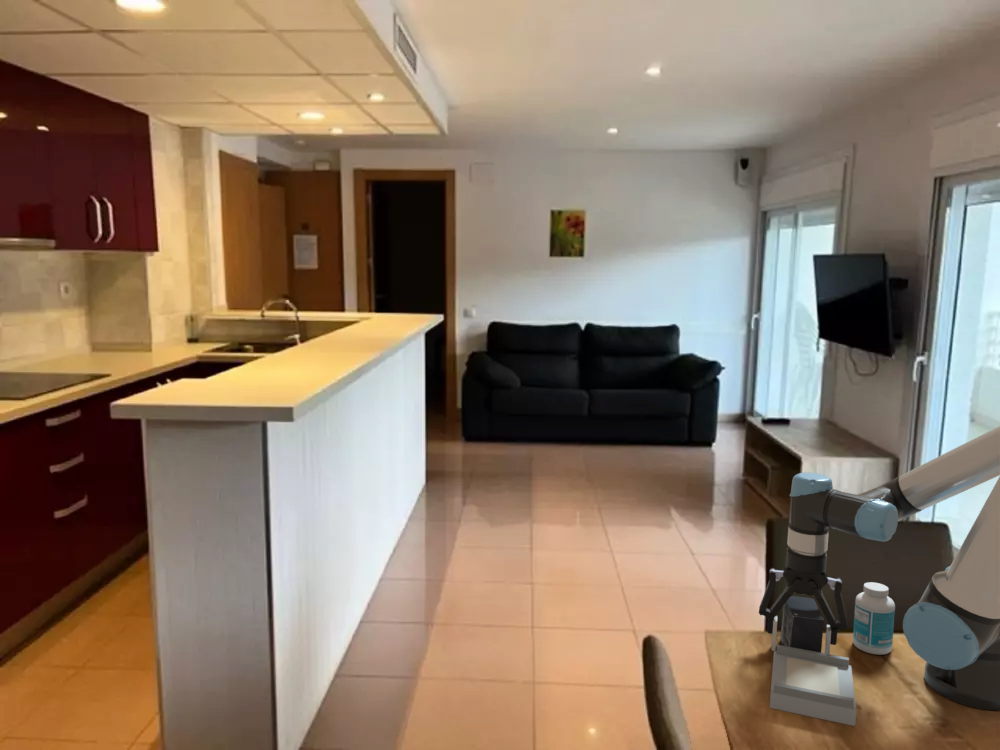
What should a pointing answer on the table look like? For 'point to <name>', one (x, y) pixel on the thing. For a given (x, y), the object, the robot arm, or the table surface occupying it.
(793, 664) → the dock
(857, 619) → the pill bottle
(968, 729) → the table surface
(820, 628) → the small box
